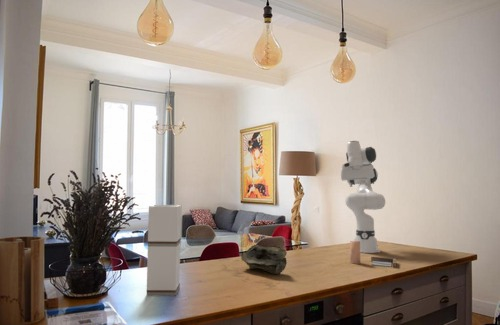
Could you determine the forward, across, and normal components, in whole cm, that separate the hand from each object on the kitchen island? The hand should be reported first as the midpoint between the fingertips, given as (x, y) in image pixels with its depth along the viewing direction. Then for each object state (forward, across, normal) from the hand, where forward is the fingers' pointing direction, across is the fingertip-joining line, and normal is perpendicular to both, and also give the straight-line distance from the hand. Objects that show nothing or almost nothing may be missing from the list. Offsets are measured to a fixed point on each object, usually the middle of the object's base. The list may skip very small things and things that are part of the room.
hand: (358, 186), depth 231 cm
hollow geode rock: (+50, +56, +38) cm, 84 cm away
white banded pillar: (+57, +92, +81) cm, 135 cm away
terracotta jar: (+46, +8, +6) cm, 47 cm away
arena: (+48, -6, +6) cm, 48 cm away
